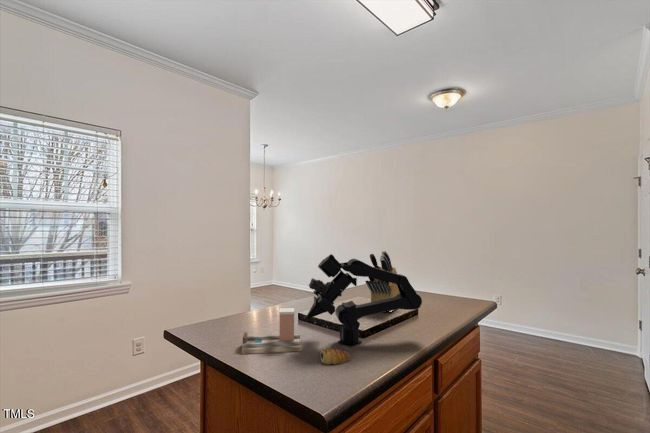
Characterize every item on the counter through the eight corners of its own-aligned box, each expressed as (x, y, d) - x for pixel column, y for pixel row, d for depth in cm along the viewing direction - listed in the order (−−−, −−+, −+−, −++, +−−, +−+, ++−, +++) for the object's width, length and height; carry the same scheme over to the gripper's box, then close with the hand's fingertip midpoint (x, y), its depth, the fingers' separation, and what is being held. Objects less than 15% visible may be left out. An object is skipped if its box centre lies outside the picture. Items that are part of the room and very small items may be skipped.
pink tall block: (293, 337, 117) (293, 307, 117) (294, 342, 112) (294, 311, 112) (279, 338, 116) (279, 308, 117) (279, 343, 111) (279, 312, 112)
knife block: (363, 315, 154) (363, 251, 154) (385, 300, 185) (385, 246, 186) (386, 318, 148) (386, 252, 149) (405, 302, 179) (404, 247, 180)
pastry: (346, 355, 107) (346, 343, 107) (352, 364, 100) (352, 351, 100) (318, 357, 105) (318, 346, 105) (323, 366, 98) (323, 354, 98)
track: (299, 340, 120) (299, 328, 120) (301, 350, 110) (301, 337, 110) (244, 343, 117) (245, 330, 117) (241, 353, 107) (242, 340, 107)
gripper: (318, 267, 126) (290, 296, 124) (325, 274, 108) (292, 309, 106) (338, 287, 127) (310, 316, 125) (348, 297, 108) (316, 332, 107)
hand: (307, 317), depth 115 cm, fingers closed
